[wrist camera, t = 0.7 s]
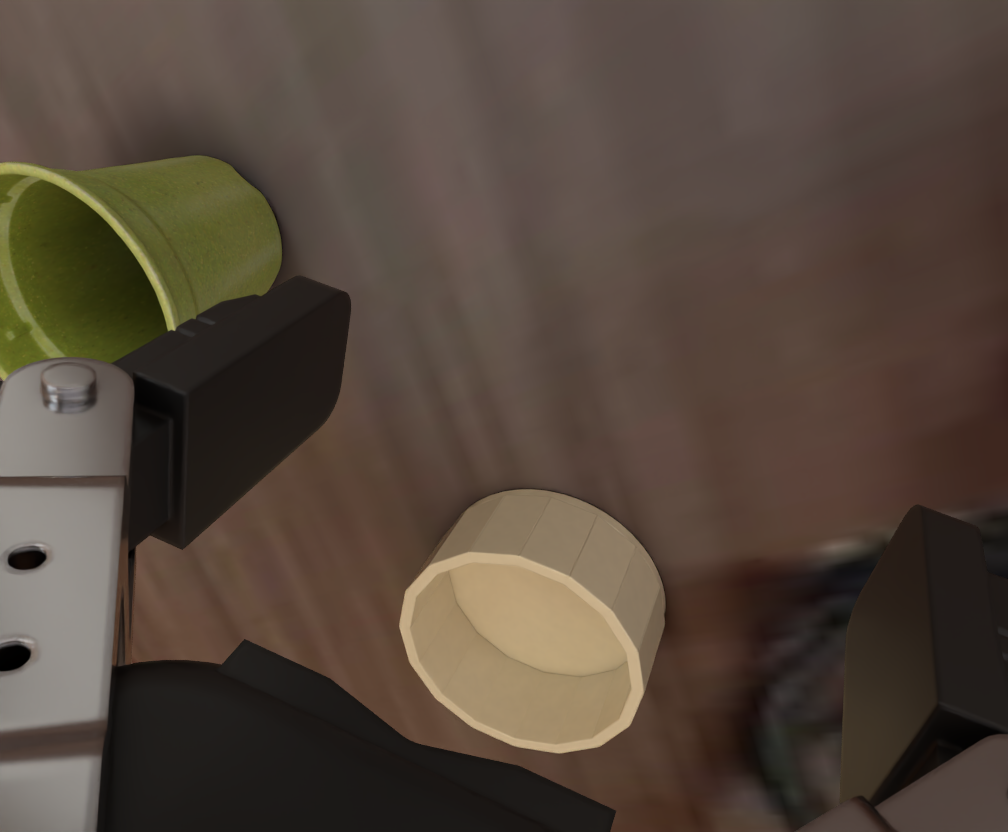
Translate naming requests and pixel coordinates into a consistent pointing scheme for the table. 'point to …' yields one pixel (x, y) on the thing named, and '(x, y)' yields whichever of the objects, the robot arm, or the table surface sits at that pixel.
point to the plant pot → (124, 254)
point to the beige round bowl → (536, 621)
